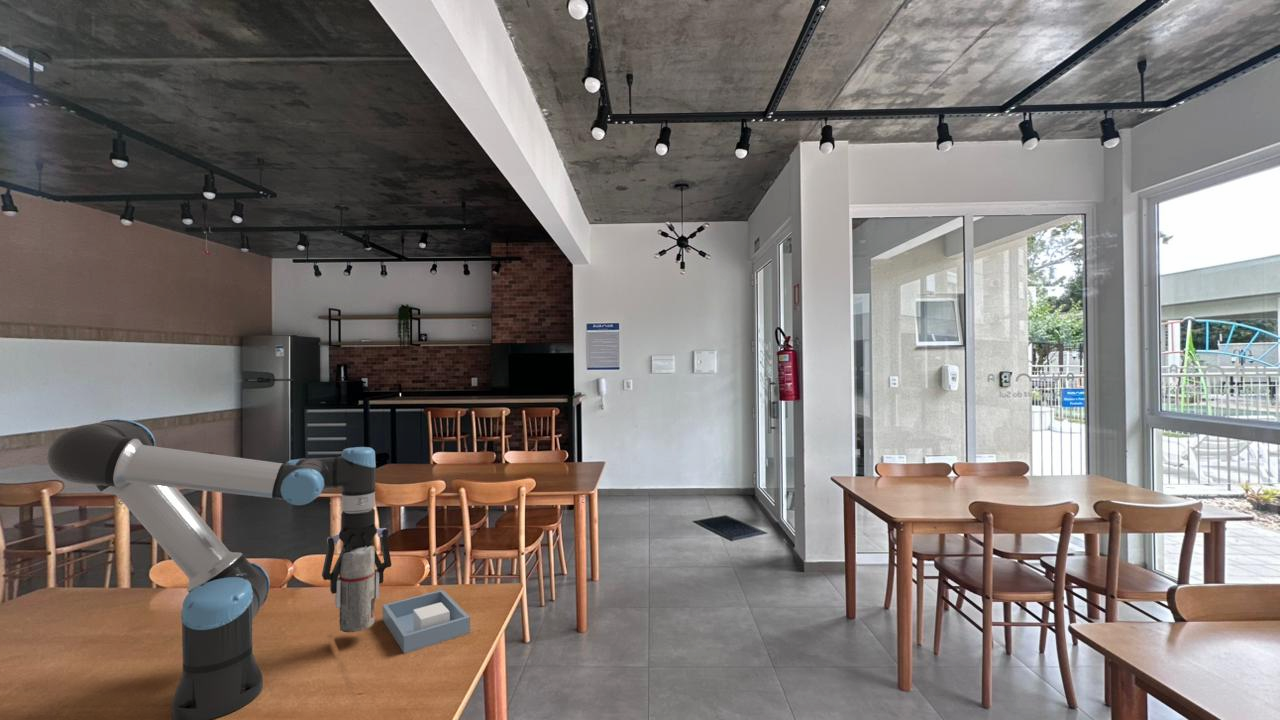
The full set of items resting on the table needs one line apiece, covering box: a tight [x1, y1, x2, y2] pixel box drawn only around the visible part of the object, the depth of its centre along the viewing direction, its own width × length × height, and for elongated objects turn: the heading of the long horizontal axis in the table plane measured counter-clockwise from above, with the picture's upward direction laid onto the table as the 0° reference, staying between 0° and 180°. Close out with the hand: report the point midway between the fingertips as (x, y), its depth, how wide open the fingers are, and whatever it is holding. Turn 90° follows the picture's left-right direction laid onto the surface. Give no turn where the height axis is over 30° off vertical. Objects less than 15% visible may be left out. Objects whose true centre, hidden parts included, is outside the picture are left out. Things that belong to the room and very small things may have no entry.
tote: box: [382, 589, 471, 654], centre depth 144 cm, size 16×22×5 cm
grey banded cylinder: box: [338, 545, 376, 633], centre depth 138 cm, size 8×8×20 cm
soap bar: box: [413, 602, 450, 632], centre depth 140 cm, size 7×7×6 cm
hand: (357, 601), depth 138 cm, fingers closed on grey banded cylinder, 8 cm apart
